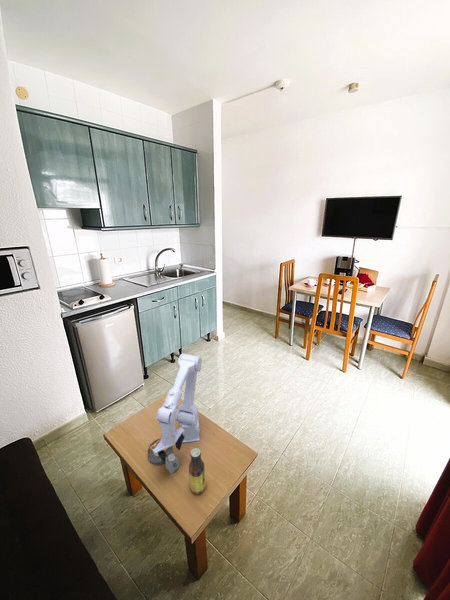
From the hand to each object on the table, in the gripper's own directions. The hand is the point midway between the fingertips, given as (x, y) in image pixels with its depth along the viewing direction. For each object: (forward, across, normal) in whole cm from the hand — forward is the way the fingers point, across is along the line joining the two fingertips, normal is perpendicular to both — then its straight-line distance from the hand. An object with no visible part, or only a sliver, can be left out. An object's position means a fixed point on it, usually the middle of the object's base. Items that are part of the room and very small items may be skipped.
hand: (170, 454), depth 105 cm
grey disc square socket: (+8, 0, -10) cm, 13 cm away
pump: (+8, 0, 0) cm, 8 cm away
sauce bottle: (+8, -2, +14) cm, 17 cm away
